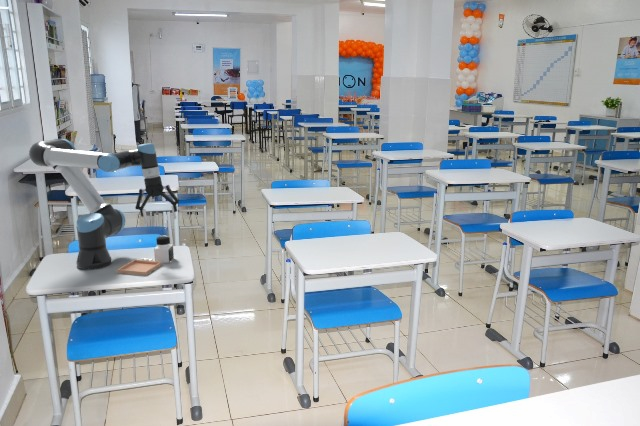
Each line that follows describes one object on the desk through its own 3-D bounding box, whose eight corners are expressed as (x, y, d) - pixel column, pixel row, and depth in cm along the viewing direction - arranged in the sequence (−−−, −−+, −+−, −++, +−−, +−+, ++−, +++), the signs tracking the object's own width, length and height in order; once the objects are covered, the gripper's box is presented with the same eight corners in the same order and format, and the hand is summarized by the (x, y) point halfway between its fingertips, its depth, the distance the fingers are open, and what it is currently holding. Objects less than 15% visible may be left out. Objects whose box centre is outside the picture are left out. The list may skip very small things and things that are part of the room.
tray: (117, 272, 236) (116, 269, 236) (134, 262, 250) (134, 259, 249) (145, 275, 233) (145, 272, 233) (161, 265, 247) (161, 261, 246)
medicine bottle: (169, 263, 250) (168, 238, 247) (154, 262, 250) (153, 238, 247) (173, 258, 257) (172, 234, 254) (159, 258, 257) (157, 234, 254)
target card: (135, 262, 250) (135, 260, 250) (141, 258, 255) (141, 257, 255) (147, 263, 249) (147, 261, 249) (152, 259, 254) (152, 258, 254)
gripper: (122, 181, 240) (132, 226, 244) (177, 174, 241) (185, 218, 246) (127, 179, 247) (136, 222, 252) (180, 172, 249) (188, 215, 253)
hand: (160, 220), depth 249 cm, fingers open, 13 cm apart
